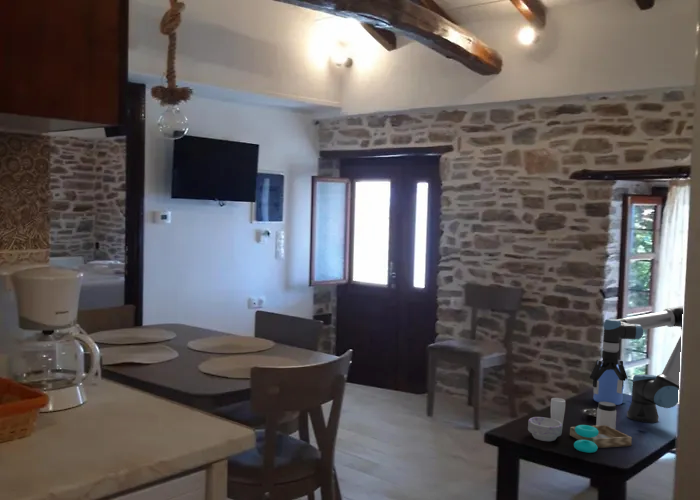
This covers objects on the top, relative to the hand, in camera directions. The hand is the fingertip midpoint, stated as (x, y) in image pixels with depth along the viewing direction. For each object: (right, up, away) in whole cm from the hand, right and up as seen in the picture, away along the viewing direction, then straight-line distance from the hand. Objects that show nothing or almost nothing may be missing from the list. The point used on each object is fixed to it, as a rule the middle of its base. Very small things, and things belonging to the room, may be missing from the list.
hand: (607, 393), depth 333 cm
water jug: (+20, -16, +52) cm, 58 cm away
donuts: (-23, -18, -34) cm, 45 cm away
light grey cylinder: (-27, -17, -7) cm, 33 cm away
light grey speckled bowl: (-37, -17, -20) cm, 45 cm away
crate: (-11, -18, -20) cm, 29 cm away
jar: (-1, -17, +1) cm, 17 cm away
